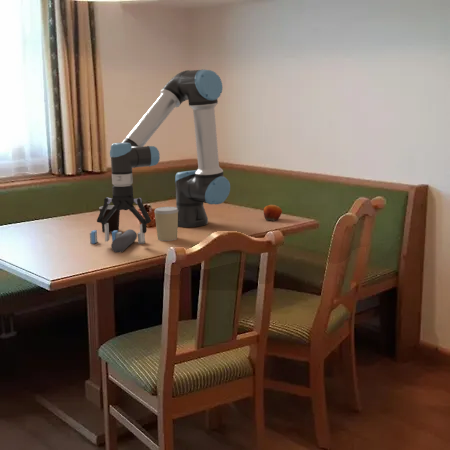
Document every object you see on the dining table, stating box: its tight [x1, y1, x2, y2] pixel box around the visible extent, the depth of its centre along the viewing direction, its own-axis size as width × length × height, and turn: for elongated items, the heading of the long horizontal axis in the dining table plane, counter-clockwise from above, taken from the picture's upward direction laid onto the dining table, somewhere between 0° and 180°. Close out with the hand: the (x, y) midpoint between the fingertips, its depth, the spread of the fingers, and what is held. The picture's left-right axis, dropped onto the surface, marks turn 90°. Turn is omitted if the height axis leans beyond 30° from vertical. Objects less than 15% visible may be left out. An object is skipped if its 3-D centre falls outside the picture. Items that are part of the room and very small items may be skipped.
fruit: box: [263, 204, 283, 222], centre depth 292 cm, size 8×8×8 cm
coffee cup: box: [154, 206, 179, 242], centre depth 261 cm, size 9×9×12 cm
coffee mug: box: [98, 204, 121, 233], centre depth 279 cm, size 12×9×10 cm
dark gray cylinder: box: [110, 229, 138, 253], centre depth 250 cm, size 5×17×5 cm, turn 172°
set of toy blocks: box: [89, 229, 146, 245], centre depth 256 cm, size 21×3×5 cm, turn 82°
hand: (124, 241), depth 250 cm, fingers open, 13 cm apart
